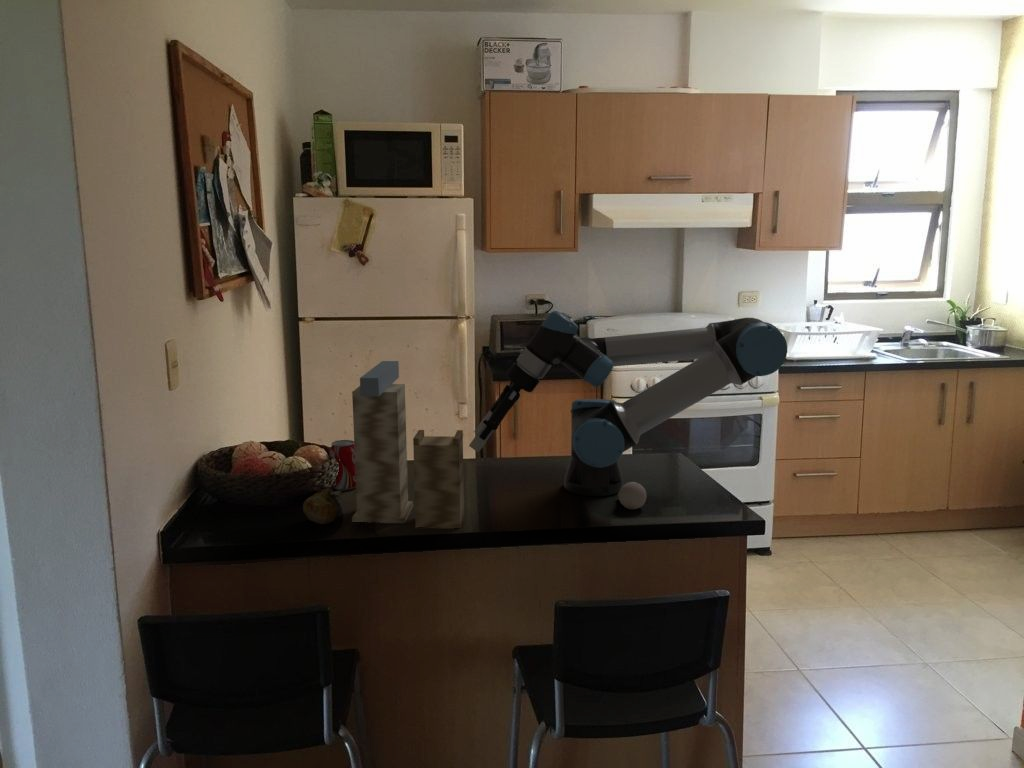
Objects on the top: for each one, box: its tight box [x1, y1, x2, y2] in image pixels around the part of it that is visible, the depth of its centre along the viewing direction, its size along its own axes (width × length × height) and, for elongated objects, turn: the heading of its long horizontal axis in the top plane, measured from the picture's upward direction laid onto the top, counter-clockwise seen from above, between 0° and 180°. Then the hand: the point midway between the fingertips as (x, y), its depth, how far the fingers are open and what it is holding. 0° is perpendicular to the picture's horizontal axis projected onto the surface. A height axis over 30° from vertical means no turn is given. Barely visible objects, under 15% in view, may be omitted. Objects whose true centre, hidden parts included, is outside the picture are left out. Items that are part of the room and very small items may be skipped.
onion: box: [302, 488, 342, 525], centre depth 189 cm, size 8×8×8 cm
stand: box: [351, 383, 414, 524], centre depth 192 cm, size 12×12×30 cm
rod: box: [359, 360, 400, 396], centre depth 191 cm, size 4×24×4 cm, turn 177°
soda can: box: [329, 439, 356, 492], centre depth 214 cm, size 7×7×12 cm
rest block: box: [412, 429, 465, 529], centre depth 187 cm, size 10×8×20 cm
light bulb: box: [617, 481, 647, 511], centre depth 200 cm, size 7×7×11 cm
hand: (476, 441), depth 199 cm, fingers open, 13 cm apart
